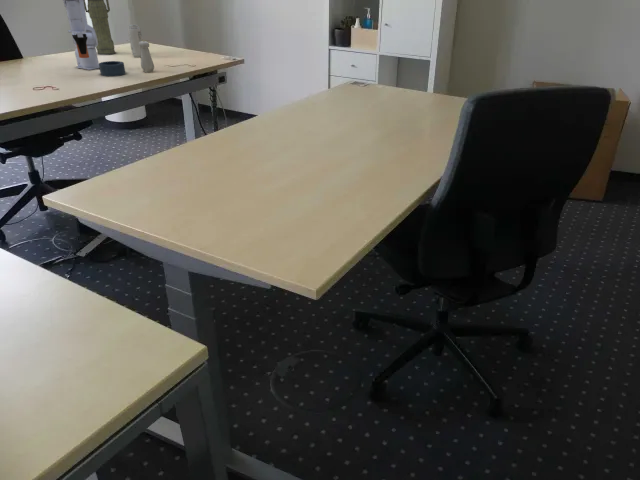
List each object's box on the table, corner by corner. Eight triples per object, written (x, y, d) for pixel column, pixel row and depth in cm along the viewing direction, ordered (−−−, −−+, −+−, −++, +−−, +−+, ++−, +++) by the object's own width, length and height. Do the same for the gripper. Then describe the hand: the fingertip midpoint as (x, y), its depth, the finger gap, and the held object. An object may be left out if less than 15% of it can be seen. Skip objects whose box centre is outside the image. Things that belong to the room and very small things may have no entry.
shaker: (77, 57, 233) (73, 40, 230) (85, 56, 236) (81, 39, 233) (83, 58, 232) (79, 41, 228) (91, 57, 235) (87, 40, 231)
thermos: (120, 53, 286) (105, -21, 268) (96, 55, 280) (80, -21, 262) (116, 51, 292) (102, -22, 274) (93, 52, 286) (77, -22, 268)
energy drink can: (134, 55, 283) (128, 24, 275) (146, 55, 284) (140, 24, 276) (131, 57, 278) (125, 25, 270) (143, 57, 279) (138, 26, 271)
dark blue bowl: (96, 74, 241) (93, 63, 238) (115, 70, 248) (113, 60, 246) (111, 77, 236) (109, 66, 234) (130, 73, 244) (128, 62, 242)
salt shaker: (152, 73, 246) (147, 42, 240) (140, 72, 246) (134, 42, 240) (156, 70, 251) (152, 40, 245) (144, 70, 251) (139, 40, 245)
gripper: (64, 17, 230) (72, 50, 237) (66, 21, 219) (74, 56, 226) (82, 16, 233) (89, 50, 240) (85, 20, 222) (92, 55, 229)
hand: (83, 53), depth 233 cm, fingers closed on shaker, 4 cm apart
